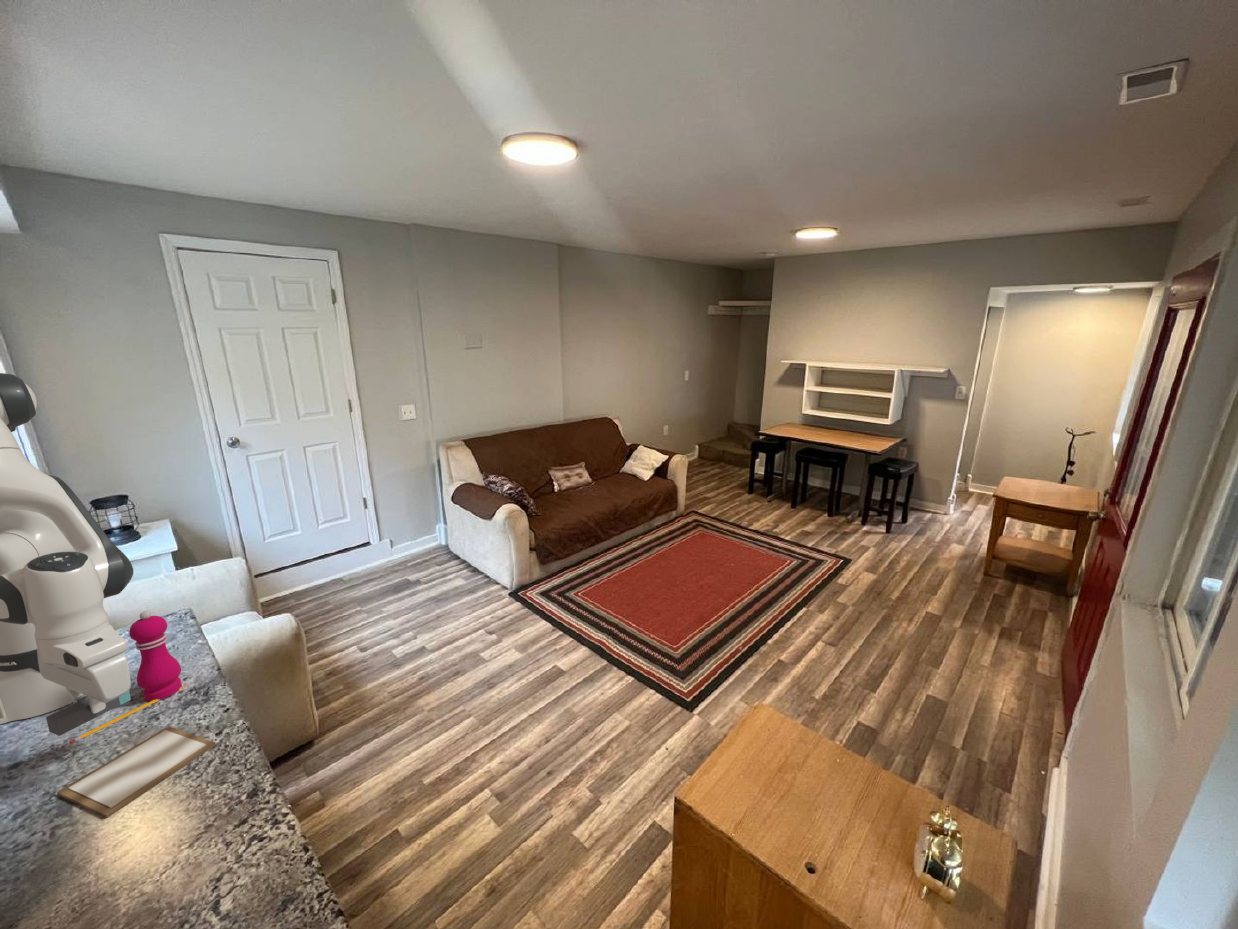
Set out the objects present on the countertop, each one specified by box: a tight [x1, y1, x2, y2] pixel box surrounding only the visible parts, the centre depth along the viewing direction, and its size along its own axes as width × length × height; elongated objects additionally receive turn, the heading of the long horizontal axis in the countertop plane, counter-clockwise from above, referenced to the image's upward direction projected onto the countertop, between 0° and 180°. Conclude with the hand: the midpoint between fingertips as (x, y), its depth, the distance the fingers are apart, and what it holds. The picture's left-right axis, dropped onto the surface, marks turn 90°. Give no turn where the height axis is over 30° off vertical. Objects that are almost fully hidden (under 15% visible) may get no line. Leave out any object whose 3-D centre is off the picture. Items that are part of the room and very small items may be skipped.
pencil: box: [68, 684, 189, 745], centre depth 102 cm, size 1×19×1 cm, turn 156°
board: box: [56, 725, 216, 819], centre depth 87 cm, size 14×16×1 cm
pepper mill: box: [128, 610, 183, 702], centre depth 106 cm, size 7×7×20 cm
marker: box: [45, 690, 131, 737], centre depth 89 cm, size 3×10×3 cm, turn 161°
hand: (90, 707), depth 89 cm, fingers closed on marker, 3 cm apart
